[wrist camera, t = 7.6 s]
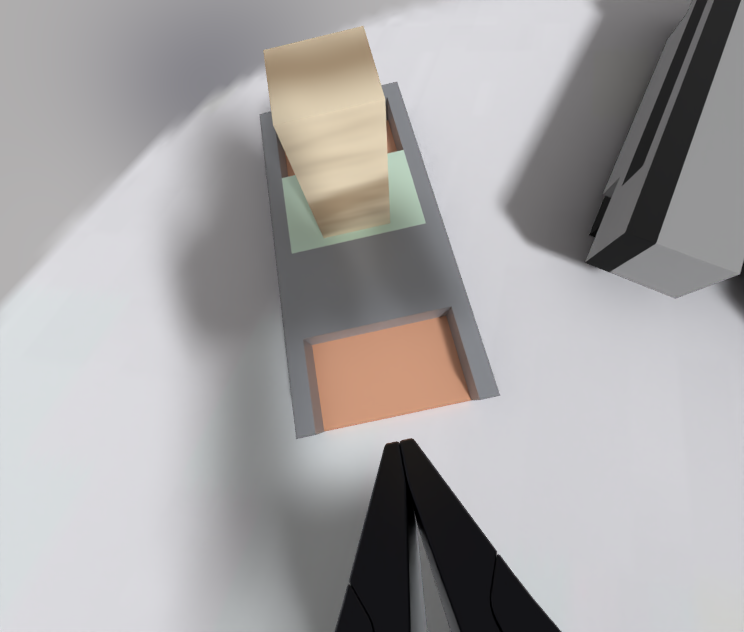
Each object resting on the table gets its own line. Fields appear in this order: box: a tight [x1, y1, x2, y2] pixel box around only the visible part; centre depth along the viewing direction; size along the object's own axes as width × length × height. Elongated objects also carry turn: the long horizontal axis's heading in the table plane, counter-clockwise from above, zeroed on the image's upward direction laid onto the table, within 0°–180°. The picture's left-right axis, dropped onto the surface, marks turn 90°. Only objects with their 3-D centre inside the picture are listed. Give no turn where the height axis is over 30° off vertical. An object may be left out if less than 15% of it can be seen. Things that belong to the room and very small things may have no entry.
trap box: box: [260, 82, 500, 439], centre depth 22 cm, size 27×12×2 cm, turn 12°
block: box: [264, 26, 390, 238], centre depth 17 cm, size 5×5×9 cm
